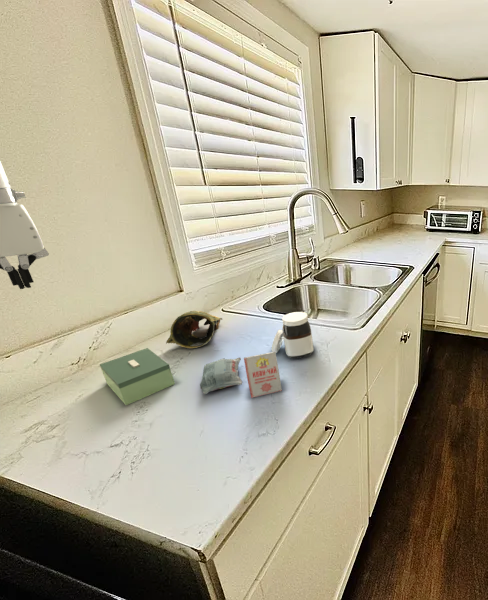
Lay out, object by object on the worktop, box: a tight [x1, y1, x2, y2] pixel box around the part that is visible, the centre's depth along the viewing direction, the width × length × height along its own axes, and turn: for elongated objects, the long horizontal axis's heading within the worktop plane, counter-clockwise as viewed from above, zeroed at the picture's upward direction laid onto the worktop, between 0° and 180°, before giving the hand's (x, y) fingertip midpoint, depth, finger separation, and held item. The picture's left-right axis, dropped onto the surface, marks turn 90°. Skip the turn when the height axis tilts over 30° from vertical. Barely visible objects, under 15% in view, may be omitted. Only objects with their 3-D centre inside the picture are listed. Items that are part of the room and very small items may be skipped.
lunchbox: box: [99, 347, 176, 406], centre depth 80 cm, size 6×14×10 cm
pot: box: [165, 310, 223, 349], centre depth 103 cm, size 17×11×18 cm
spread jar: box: [270, 311, 314, 360], centre depth 93 cm, size 12×11×12 cm
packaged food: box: [199, 357, 243, 395], centre depth 81 cm, size 9×12×5 cm
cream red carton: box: [243, 351, 283, 399], centre depth 77 cm, size 4×7×10 cm, turn 113°
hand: (24, 287), depth 70 cm, fingers closed
